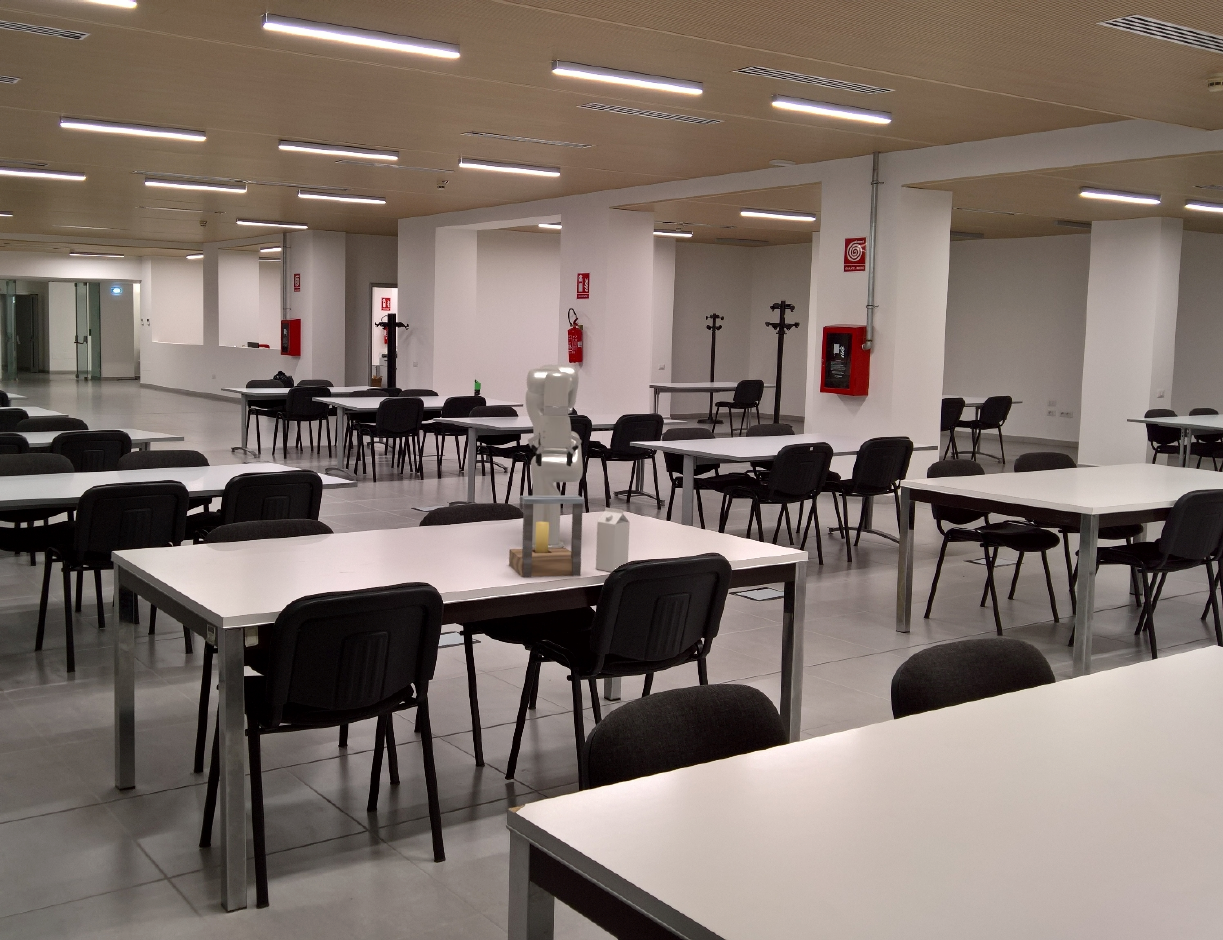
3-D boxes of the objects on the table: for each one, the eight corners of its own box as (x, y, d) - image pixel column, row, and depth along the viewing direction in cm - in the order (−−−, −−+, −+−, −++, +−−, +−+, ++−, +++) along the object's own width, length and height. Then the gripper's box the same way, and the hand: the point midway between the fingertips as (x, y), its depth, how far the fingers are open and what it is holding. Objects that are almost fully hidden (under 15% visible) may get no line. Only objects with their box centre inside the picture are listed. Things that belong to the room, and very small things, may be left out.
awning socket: (509, 564, 348) (511, 490, 346) (565, 563, 354) (567, 489, 351) (523, 577, 330) (525, 499, 327) (581, 576, 335) (584, 498, 333)
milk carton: (610, 566, 352) (612, 506, 350) (627, 569, 347) (630, 509, 345) (595, 569, 346) (597, 508, 344) (613, 572, 342) (615, 511, 340)
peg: (533, 566, 347) (534, 521, 346) (545, 565, 349) (547, 521, 347) (536, 568, 344) (537, 523, 342) (549, 568, 345) (550, 523, 343)
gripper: (578, 411, 359) (577, 464, 361) (526, 410, 354) (524, 464, 356) (585, 413, 352) (583, 467, 354) (531, 412, 347) (530, 467, 349)
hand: (554, 465), depth 355 cm, fingers open, 9 cm apart
